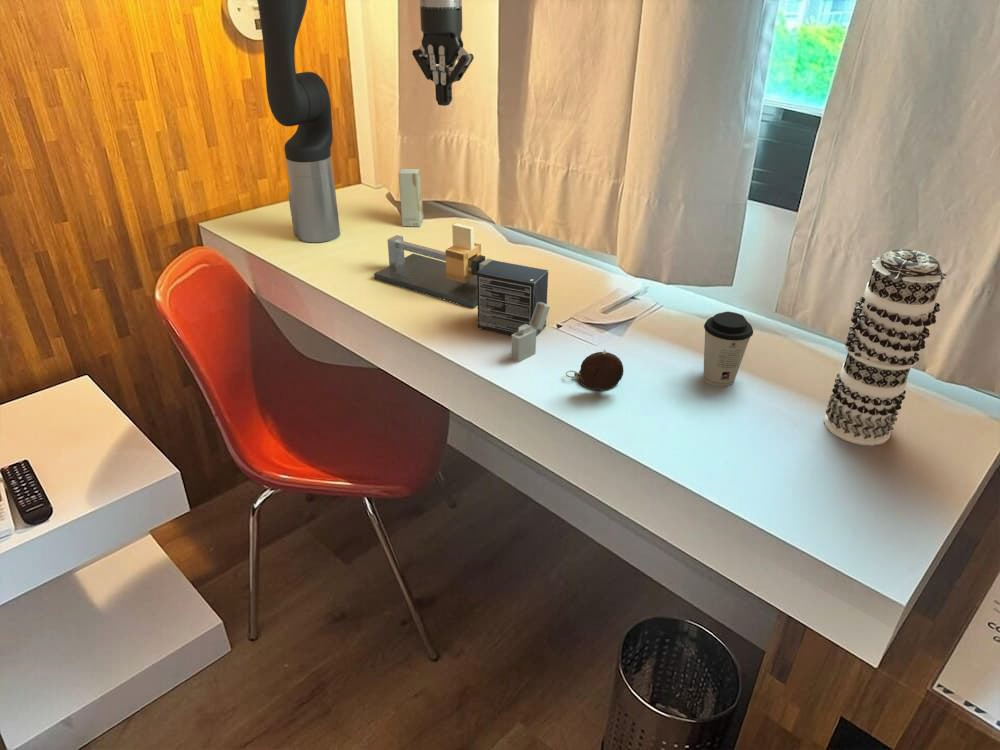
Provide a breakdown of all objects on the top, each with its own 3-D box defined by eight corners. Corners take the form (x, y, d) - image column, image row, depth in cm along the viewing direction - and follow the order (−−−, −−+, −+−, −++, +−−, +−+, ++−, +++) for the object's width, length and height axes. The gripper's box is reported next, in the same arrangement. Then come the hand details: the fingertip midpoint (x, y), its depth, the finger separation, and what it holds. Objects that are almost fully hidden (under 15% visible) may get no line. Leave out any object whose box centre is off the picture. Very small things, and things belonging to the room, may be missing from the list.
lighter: (518, 362, 113) (519, 317, 109) (510, 358, 114) (511, 313, 110) (548, 346, 118) (550, 302, 113) (540, 343, 119) (542, 299, 114)
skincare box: (420, 227, 164) (417, 173, 157) (401, 227, 164) (398, 173, 157) (424, 217, 169) (421, 165, 163) (405, 217, 169) (402, 165, 163)
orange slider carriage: (446, 278, 134) (444, 228, 129) (463, 267, 138) (462, 219, 133) (464, 283, 132) (463, 233, 127) (481, 272, 136) (480, 223, 131)
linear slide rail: (374, 279, 140) (371, 245, 136) (413, 258, 148) (411, 226, 145) (472, 308, 129) (472, 272, 125) (508, 284, 138) (508, 250, 134)
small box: (548, 325, 124) (550, 268, 119) (533, 342, 119) (535, 283, 113) (492, 313, 128) (492, 257, 122) (476, 328, 123) (475, 271, 117)
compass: (616, 370, 112) (621, 328, 108) (620, 398, 105) (625, 355, 101) (565, 367, 112) (567, 326, 108) (565, 396, 105) (568, 353, 102)
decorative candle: (907, 445, 96) (974, 271, 82) (840, 448, 95) (896, 273, 82) (872, 406, 103) (927, 241, 90) (809, 409, 103) (856, 243, 90)
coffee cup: (734, 395, 106) (747, 335, 100) (688, 382, 109) (698, 323, 103) (748, 374, 111) (761, 316, 105) (703, 362, 114) (714, 304, 108)
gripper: (398, 2, 129) (404, 104, 139) (458, 7, 123) (461, 112, 133) (424, 0, 135) (428, 97, 144) (483, 3, 129) (483, 105, 138)
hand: (444, 104), depth 138 cm, fingers closed
